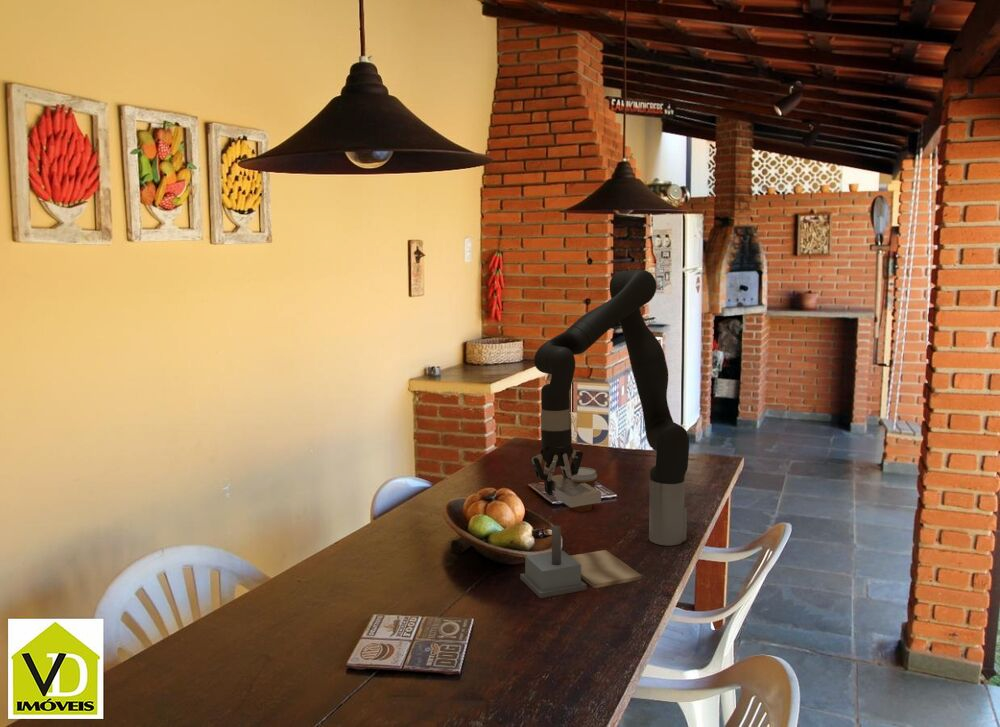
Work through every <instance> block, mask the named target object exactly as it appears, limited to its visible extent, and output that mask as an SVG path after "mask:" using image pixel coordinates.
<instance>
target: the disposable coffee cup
mask: <svg viewBox="0 0 1000 727" xmlns="http://www.w3.org/2000/svg"><path fill="white" fill-rule="evenodd" d="M597 477H598V474H597V471H596V470H595V469H594V468H591V467H582V466H580V467H579V471H578V474H577V475H573V476H572V477H571V481H573V482H575V483H577V484H581V483H586V484H588V485H590V486H591V487H593V488H595V485H596V479H597ZM595 489H596V488H595ZM592 508H593V504H588V505H583V506H577V507H571V510H572V511H574V512H580V513H583V512H586V513H587V512H589V511H592Z"/></svg>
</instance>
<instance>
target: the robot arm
mask: <svg viewBox="0 0 1000 727" xmlns="http://www.w3.org/2000/svg"><path fill="white" fill-rule="evenodd" d="M656 291H657V281H656V278H655V277H654V275H653V274H652V273H651V272H649V271H647V270H646V269H645V270H644V269H632V270H631V269H630V270H623V271H617V272H616V273H614V274H613V275H612V277H611V278H610V281H609V295H610V299H608V300H607V301H606V302H604V303H603V304H601V305H599V306H597V307H594V308H593V309H591V310H590V311H588V312H586V313H585V314H583V315H582V316H581V317H579V318H578V319H577V320H576V321H575V322H574V323H573V324H572V325H570V326H569V327H568V328H567V329H566V330H565V331H563V332H562V333H560V334H558V335H556V336H554V337H552V338H551V339H549V340H547V341H546V342H544V343H543V344H541V345H540V347H539V348H537V350H536V352H535V354H534V357H533V364H534V367H535V368H536V370H538V371H539V372H541V373H543V374H547V375H551V378H550V382H549V383H547V384H544V385H543V386H542V387H541V390H540V402H541V404H540V405H541V412H540V434H541V436H540V438H541V440H540V441H541V450H540V453H539V454H536V456H534V455H532V456H531V457H530V462H531V464H532V467H533V470H534V473H535V475H536V477H537V478H539V479H540V480H541V481H544V486H543V487H544V492H545V493H546V495H548V496H553V495H554V491H553V490H552V481H551V480H552V476H554V473H555V470H556V468H558V467H560V468H561V472H562V475H563V476H565V477H566V478H568V479H570V480H571V477H572V476H573V475H577V474H578V471H579V467H581V464H582V459H583V456H584V453H583V451H581V450H579V449H573V446H572V443H573V442H572V440H573V438H572V435H573V433H572V414H571V401H570V400H571V397H570V396H571V395H570V391H571V387H572V384H573V378H574V374H575V370H576V359H575V355H581V354H583V353H585V352H586V351H587V350H588V349H590V348H591V347H592V346H593V345H594V344H595V343H596V342H597V341H598V340H599V339H600V338H601V337H602V336H603V335H605V334H606V333H607V332H608V331H609V330H611V329H612V328H613V327H615V325H617V324H618V323H619V324H620V326H621V327H620V328H621V331H622V334H623V338H624V342H625V346H626V349H627V353H628V357H629V362H630V366H631V371H632V374H633V379H634V381H635V387H636V389H637V390H636V391H637V394H638V397H639V401H640V404H641V409H642V415H643V422H644V423H643V424H644V429H645V430H644V431H645V436H646V440H647V443H648V445H649V447H650V448H651V449H652V450H654V451H655V452H656V456H655V465H654V466H652V467H651V468H650V472H649V514H648V515H649V519H648V520H649V523H648V526H649V527H648V529H649V530H648V540H649V541H650V542H651V543H653V544H655V545H660V546H666V547H667V546H668V547H669V546H678V545H681V544H682V543H684V542H686V541H687V532H688V530H687V529H688V528H687V525H688V524H687V523H688V508H687V507H686V506H685V478H686V473H687V471H688V468H689V467H688V466H689V453H690V438H689V434H688V432H687V429H685V427H683V426H682V425H680V424H678V423H676V422H674V420H673V418H672V415H671V411H670V407H669V404H668V396H667V395H668V386H669V368H668V364H667V358H666V355H665V352H664V348H663V347H662V346H663V345H661V343H660V342H659V340H658V339H657V337H656V336H655V335H654V333H653V332H652V331H651V329H650V328H649V326H648V325H647V324H646V322H645V320H644V317H643V315H642V312H641V309H640V308H641V307H643V306H645V305H647V304H648V303H649V302H651V301H652V299H653V298H654V297H655V295H656ZM571 458H572V459H571ZM570 459H571V463H570ZM542 460H543V461H544V467H543V468H544V470H543V468H542V463H543V462H542Z"/></svg>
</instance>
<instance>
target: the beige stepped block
mask: <svg viewBox="0 0 1000 727" xmlns="http://www.w3.org/2000/svg"><path fill="white" fill-rule="evenodd" d="M551 481H552V490H553V492H555V494H554V496H555V499H557V500H558V501H560V503H562V504H564V505H566V506H567V507H568V508H571V507H577V506H583V505H588V504H592V505H594V504H599V503H602V491H600V490H598V489H597V488H593V487H591V486H590V485H588V484H586V483H581V484H577V483H575V482H573V481H571V480H570V479H568V478H566V477H565V476H564V475H563V474H556V475H552V480H551Z"/></svg>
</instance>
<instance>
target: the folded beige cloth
mask: <svg viewBox="0 0 1000 727" xmlns="http://www.w3.org/2000/svg"><path fill="white" fill-rule="evenodd" d="M570 556H571V557H572V558H573V559H575V560H576V561H577V562H578V563H580V564H581V580H584V581H585V582H586V584H588V585H590V586H591V588H593V589H598V588H604V587H609V586H615V585H619V584H620V585H621V584H624V583H631V582H636V581H640V580H643V579H642V578H643V575H642V574H640V573H639V572H637V571H636V570H634V569H633V568H632V567H630V566H629V565H627V564H626V563H625V562H623V561H622V560H621V559H619V558H618V557H617V556H615V555H613V554H612V553H611V552H609V551H608V550H607V549H604V550H603V549H602V550H596V551H591V552H585V553H579V554H573V555H570Z"/></svg>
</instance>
